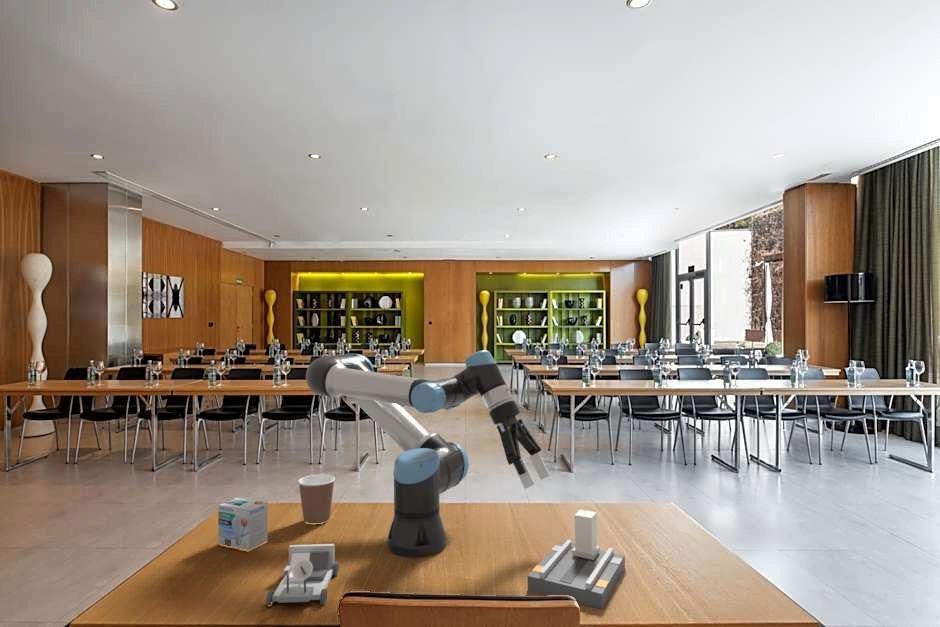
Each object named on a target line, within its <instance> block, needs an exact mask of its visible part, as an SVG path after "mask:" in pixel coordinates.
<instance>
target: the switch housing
mask: <svg viewBox="0 0 940 627" xmlns="http://www.w3.org/2000/svg"><path fill="white" fill-rule="evenodd" d="M574 547H575V544H573V540H572V539H567V540H566V541H565V542H562V541H558V542H557V544H555V545H554V546H553V547H552V549H551V550H550V551H549V552H548V553H547V554H546V555H545V557H543V559H542V560H541V561H540V562H539V563H538V564H537V565H536V566H535V567H534V568H533V569H532V570H531V572H530V573H529V574H528V575H527V591H529V592H530V591H531V592H534V593H538V594H542V595H545V596H549V595H569V596H572V597H574V598H575V599H576V601H577V602H578V603H577V604H581V605H585V606H588V607H593V608H596V609H600V610H602V609H603V608H604V607H603V606H605V605H606V603H607V601H608V600H609V598H610V596H611V594H612V593H613V591H614V589H615V587H616V585H617V583H618V582H619V580H620V578H621V576H622V575H623V572H624V571H625V569H626V555H625V554H621V553H616V552H614V548H613V547H609V548H608V549H607V550H602V549H600V552H599V553H598V554H597V556H596V557H595V559H594V560H592V559H587V558H582V557H578V556H573V555H572V550H573V549H574Z"/></svg>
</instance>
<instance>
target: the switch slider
mask: <svg viewBox="0 0 940 627" xmlns="http://www.w3.org/2000/svg"><path fill="white" fill-rule="evenodd" d="M597 517H598V516H597V511H591V510H584V509H578V511H577V512H576V513H575V514H574V545H575V547H574V549H573V550H572V555H573V556H578V557H582V558H587V559H592V560H594V559H595V557H596V556H597V554H598V553H599V552H600V550H601V548H600V545H598V536H597V534H598V533H597V532H598V531H597V530H598V525H597V524H598V522H597V520H598V519H597Z"/></svg>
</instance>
